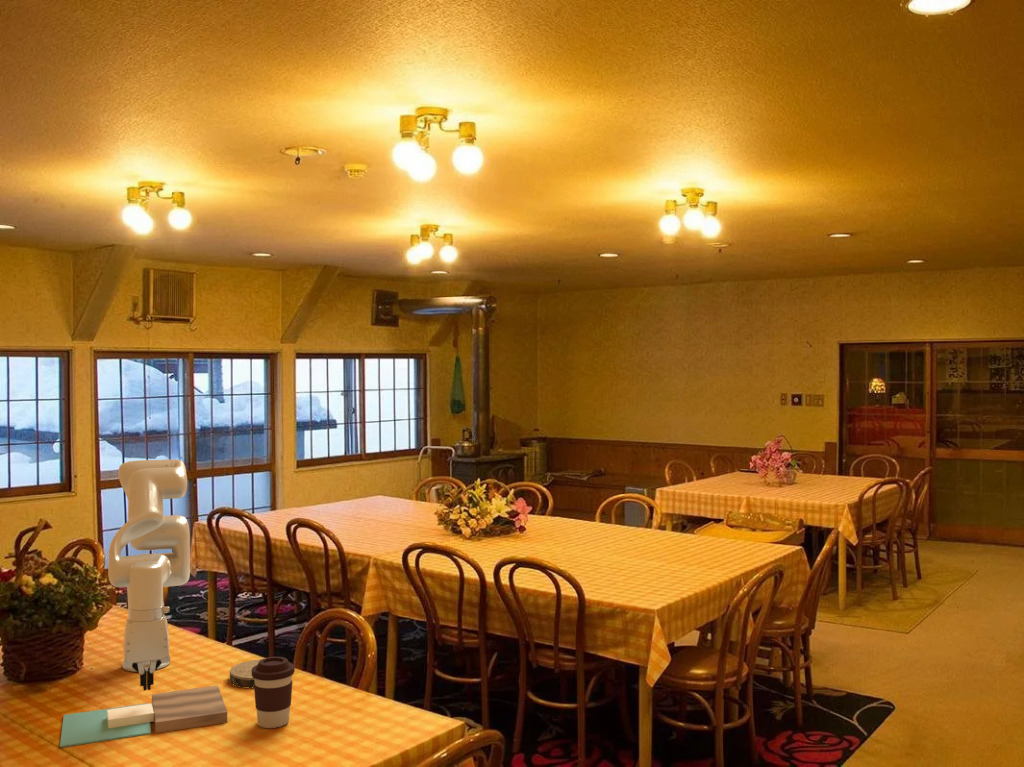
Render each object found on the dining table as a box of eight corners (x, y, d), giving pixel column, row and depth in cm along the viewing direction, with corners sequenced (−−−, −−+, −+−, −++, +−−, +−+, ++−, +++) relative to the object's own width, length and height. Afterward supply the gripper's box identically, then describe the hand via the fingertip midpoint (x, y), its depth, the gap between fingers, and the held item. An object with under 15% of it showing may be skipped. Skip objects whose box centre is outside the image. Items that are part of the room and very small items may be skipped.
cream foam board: (107, 718, 220) (107, 709, 220) (151, 711, 224) (151, 703, 224) (108, 728, 214) (108, 719, 214) (153, 721, 218) (153, 713, 218)
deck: (151, 704, 230) (151, 694, 230) (218, 694, 237) (218, 685, 237) (155, 733, 212) (155, 722, 212) (227, 722, 218) (227, 711, 218)
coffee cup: (249, 719, 220) (249, 657, 220) (290, 712, 224) (290, 652, 224) (254, 734, 211) (254, 669, 211) (298, 727, 215) (297, 664, 215)
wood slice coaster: (239, 693, 239) (239, 681, 239) (222, 675, 252) (222, 665, 252) (298, 682, 247) (297, 671, 247) (279, 665, 261) (279, 655, 261)
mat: (63, 716, 222) (63, 714, 222) (147, 704, 230) (147, 703, 230) (59, 747, 204) (59, 745, 204) (151, 733, 211) (151, 732, 211)
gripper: (178, 606, 227) (178, 678, 227) (112, 612, 221) (113, 687, 221) (180, 614, 220) (180, 689, 221) (112, 621, 214) (113, 698, 215)
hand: (146, 688), depth 221 cm, fingers closed
